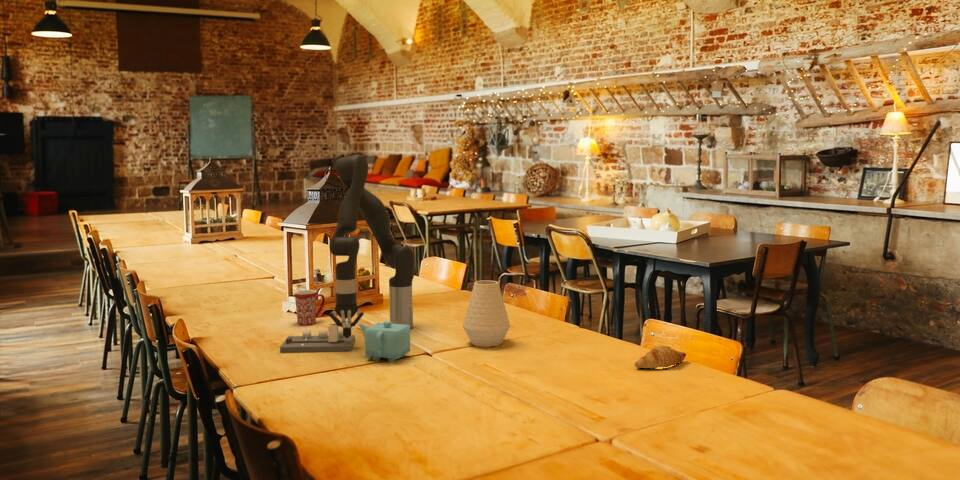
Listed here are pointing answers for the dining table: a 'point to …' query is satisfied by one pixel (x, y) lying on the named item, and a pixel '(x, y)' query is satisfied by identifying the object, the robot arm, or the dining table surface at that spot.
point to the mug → (307, 306)
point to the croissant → (660, 358)
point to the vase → (486, 315)
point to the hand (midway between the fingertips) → (347, 337)
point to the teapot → (386, 340)
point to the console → (317, 343)
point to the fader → (333, 332)
